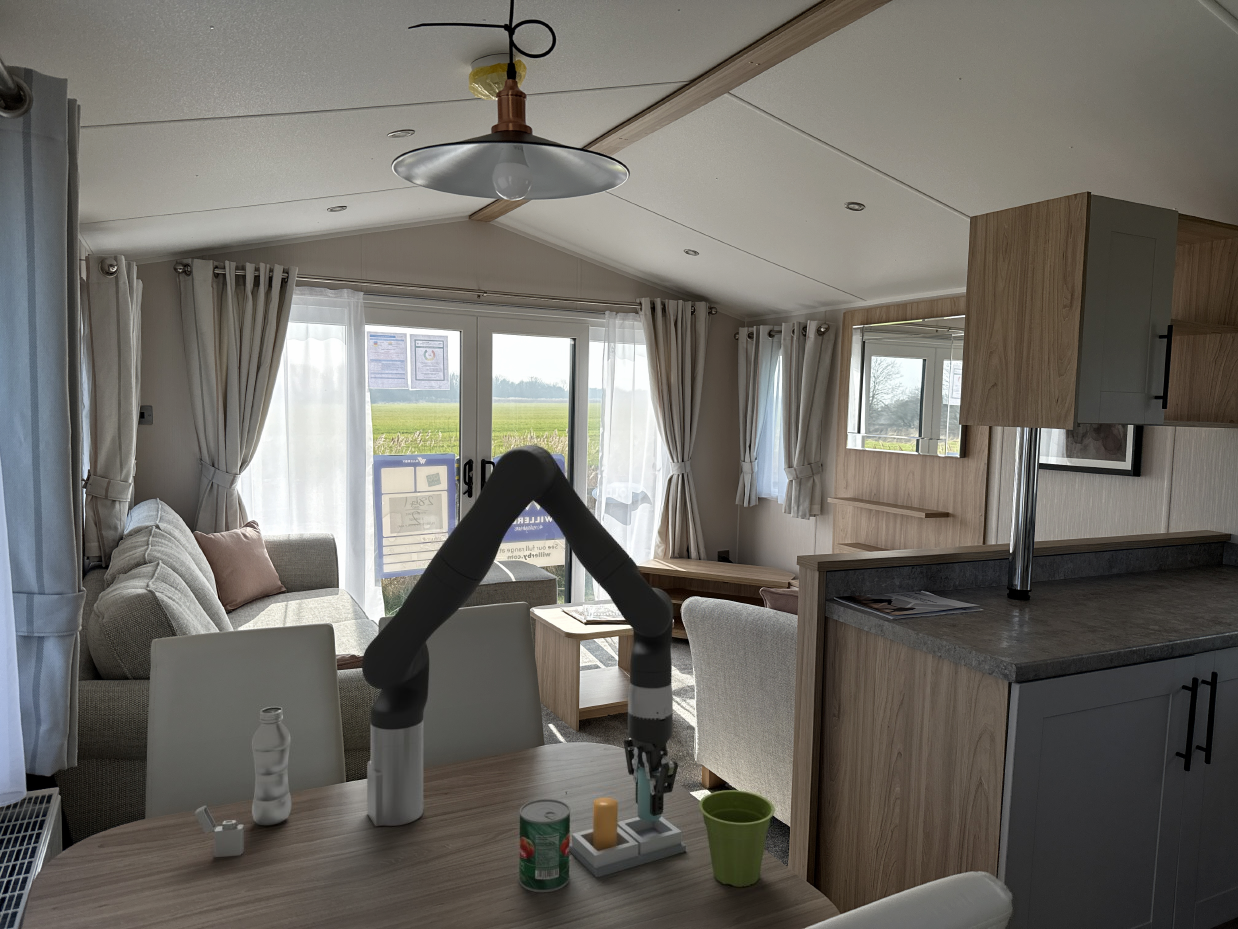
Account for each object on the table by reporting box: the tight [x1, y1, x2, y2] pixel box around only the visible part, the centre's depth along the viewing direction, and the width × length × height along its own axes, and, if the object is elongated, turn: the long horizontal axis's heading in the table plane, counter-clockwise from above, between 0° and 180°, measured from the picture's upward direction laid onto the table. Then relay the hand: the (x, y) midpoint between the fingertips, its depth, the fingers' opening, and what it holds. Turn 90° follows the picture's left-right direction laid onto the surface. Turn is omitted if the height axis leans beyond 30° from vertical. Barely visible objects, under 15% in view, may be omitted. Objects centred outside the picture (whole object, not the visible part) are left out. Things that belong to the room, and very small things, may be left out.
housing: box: [569, 816, 687, 878], centre depth 138 cm, size 17×10×3 cm, turn 120°
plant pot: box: [698, 789, 776, 888], centre depth 131 cm, size 12×12×11 cm
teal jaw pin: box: [637, 766, 662, 821], centre depth 140 cm, size 4×4×8 cm
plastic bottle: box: [251, 706, 293, 826], centre depth 147 cm, size 6×7×20 cm
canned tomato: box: [518, 798, 571, 893], centre depth 129 cm, size 8×8×11 cm
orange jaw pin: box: [592, 797, 619, 851], centre depth 136 cm, size 4×4×8 cm
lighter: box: [194, 804, 245, 858], centre depth 135 cm, size 7×2×8 cm, turn 101°
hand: (649, 808), depth 140 cm, fingers closed on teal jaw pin, 4 cm apart
